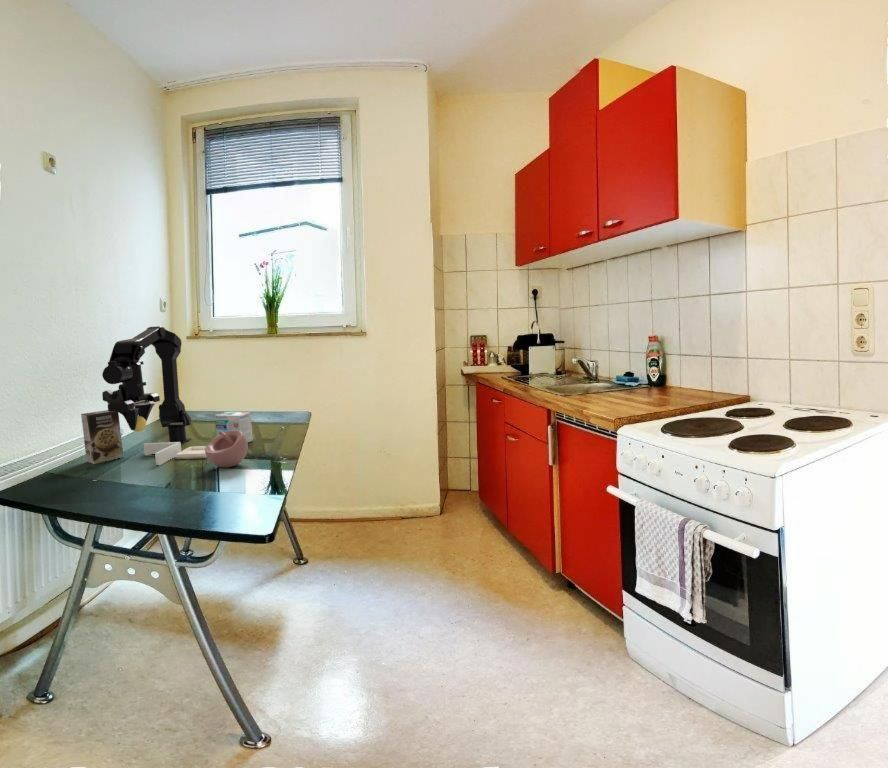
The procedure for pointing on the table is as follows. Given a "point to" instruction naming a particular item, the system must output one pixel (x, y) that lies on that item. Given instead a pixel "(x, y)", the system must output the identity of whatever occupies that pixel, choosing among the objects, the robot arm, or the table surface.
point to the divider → (162, 450)
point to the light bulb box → (235, 423)
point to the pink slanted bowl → (227, 449)
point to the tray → (192, 453)
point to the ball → (140, 424)
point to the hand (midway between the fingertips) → (138, 428)
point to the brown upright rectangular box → (102, 436)
